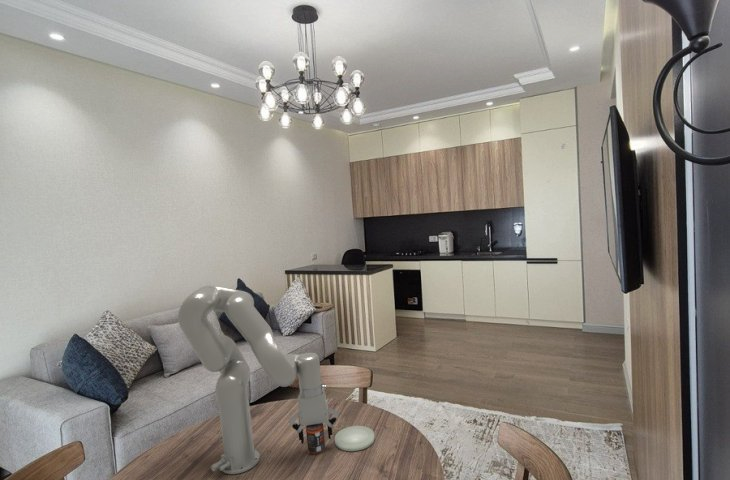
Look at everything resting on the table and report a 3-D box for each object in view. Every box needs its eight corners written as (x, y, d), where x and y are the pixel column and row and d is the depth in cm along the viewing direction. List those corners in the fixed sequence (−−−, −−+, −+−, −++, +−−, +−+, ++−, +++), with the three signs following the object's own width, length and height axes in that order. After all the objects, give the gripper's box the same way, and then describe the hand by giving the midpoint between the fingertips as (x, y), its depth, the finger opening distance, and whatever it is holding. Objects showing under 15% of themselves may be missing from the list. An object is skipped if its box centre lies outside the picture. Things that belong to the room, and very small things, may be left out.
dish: (358, 456, 131) (357, 451, 131) (326, 444, 140) (326, 440, 140) (382, 435, 142) (381, 431, 142) (351, 426, 151) (351, 422, 151)
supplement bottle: (324, 454, 134) (321, 422, 133) (306, 456, 134) (303, 423, 133) (326, 444, 140) (323, 413, 139) (309, 445, 140) (306, 414, 139)
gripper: (335, 382, 141) (340, 429, 142) (285, 389, 138) (291, 437, 139) (337, 391, 133) (342, 441, 134) (284, 399, 131) (290, 449, 132)
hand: (316, 439), depth 137 cm, fingers open, 8 cm apart
